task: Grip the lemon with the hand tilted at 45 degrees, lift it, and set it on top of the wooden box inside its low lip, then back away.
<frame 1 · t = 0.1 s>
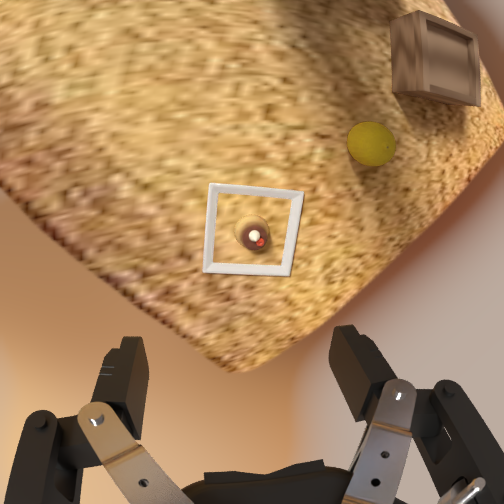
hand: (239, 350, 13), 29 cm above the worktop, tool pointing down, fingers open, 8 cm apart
wooden box: (420, 63, 36), on the worktop
lemon: (355, 140, 39), on the worktop
white square frame: (250, 229, 43), on the worktop
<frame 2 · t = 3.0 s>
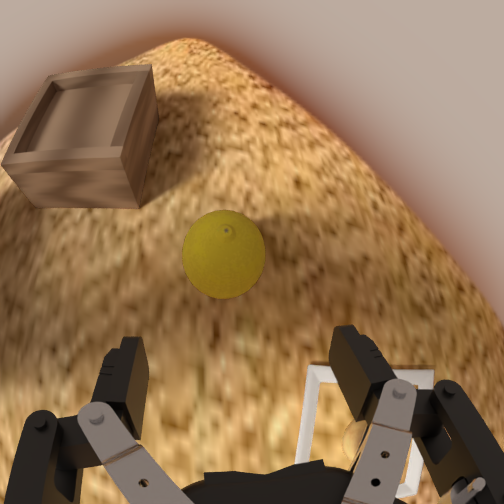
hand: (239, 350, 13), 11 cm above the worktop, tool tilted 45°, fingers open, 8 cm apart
wooden box: (97, 160, 28), on the worktop
lemon: (222, 275, 25), on the worktop
white square frame: (363, 437, 22), on the worktop
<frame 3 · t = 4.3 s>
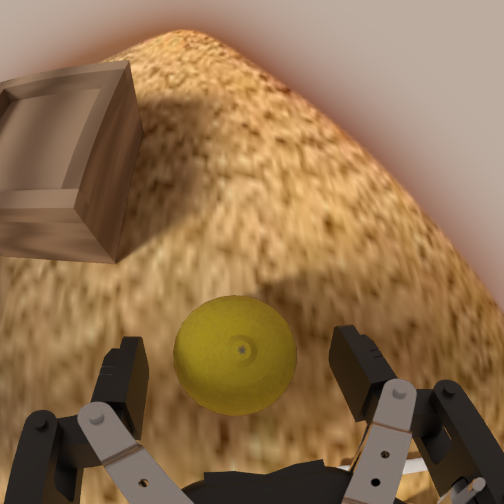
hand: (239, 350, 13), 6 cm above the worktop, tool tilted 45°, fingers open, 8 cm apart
wooden box: (64, 191, 21), on the worktop
lemon: (230, 360, 18), on the worktop
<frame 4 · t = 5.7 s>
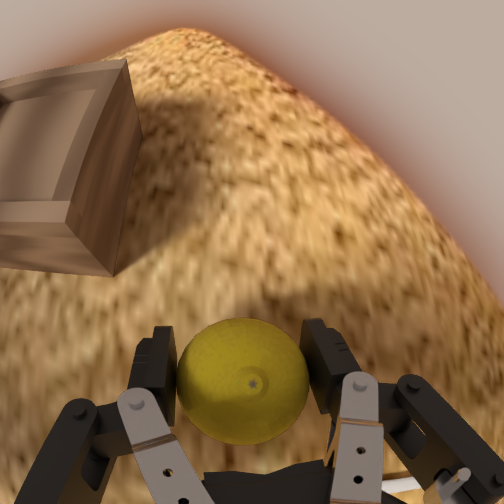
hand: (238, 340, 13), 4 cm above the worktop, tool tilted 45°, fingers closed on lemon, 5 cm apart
wooden box: (59, 198, 20), on the worktop
lemon: (235, 380, 17), on the worktop, touching gripper
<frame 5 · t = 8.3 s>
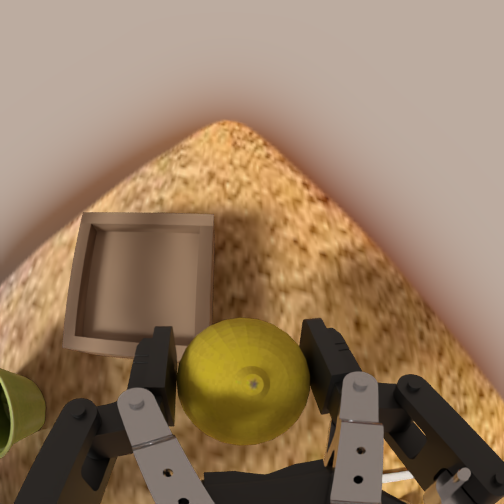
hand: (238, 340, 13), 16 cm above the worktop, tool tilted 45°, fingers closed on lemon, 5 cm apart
wooden box: (155, 302, 29), on the worktop
lemon: (236, 380, 17), point 11 cm above the worktop, touching gripper
plant pot: (25, 404, 24), on the worktop
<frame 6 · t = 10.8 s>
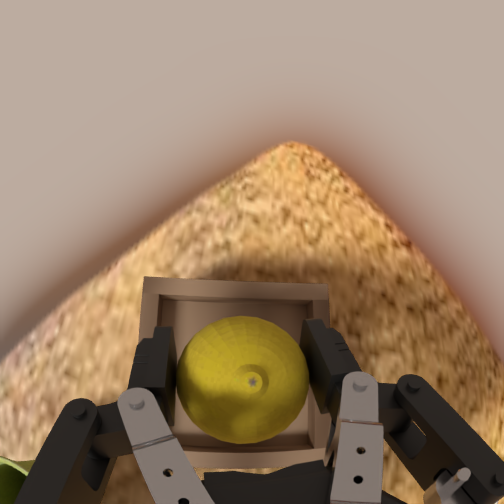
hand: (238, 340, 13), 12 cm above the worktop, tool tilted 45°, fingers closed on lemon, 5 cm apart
wooden box: (229, 375, 24), on the worktop
lemon: (235, 378, 17), point 7 cm above the worktop, touching gripper
plant pot: (67, 487, 18), on the worktop
when the fingers open (12 cm above the worktop, at t = 10.8 s): lemon stays where it is, point 7 cm above the worktop.
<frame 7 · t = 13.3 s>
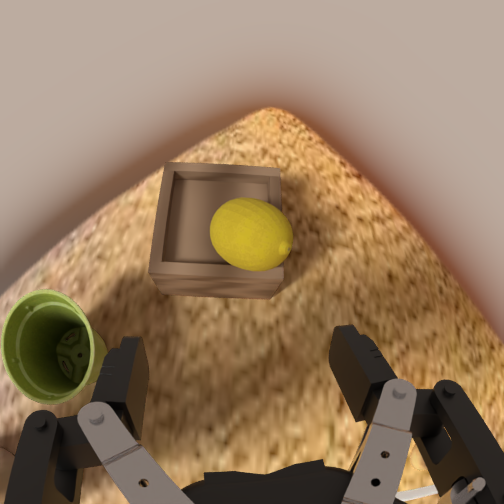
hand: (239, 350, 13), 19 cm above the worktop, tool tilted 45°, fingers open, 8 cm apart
wooden box: (217, 247, 35), on the worktop
lemon: (216, 220, 28), point 7 cm above the worktop
white square frame: (421, 452, 28), on the worktop
plant pot: (83, 355, 29), on the worktop
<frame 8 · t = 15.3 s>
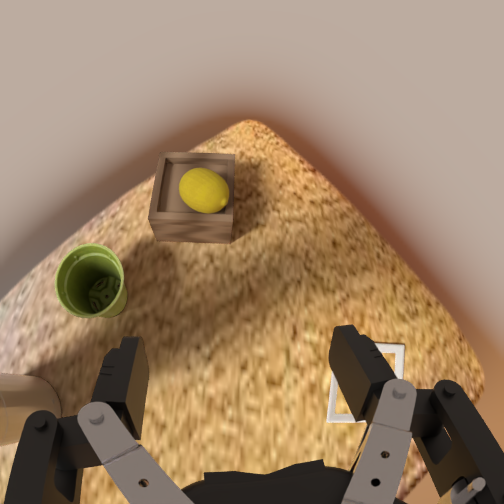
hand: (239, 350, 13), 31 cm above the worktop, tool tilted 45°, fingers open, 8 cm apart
wooden box: (195, 210, 49), on the worktop, touching lemon
lemon: (181, 177, 42), point 8 cm above the worktop, touching wooden box
white square frame: (365, 382, 43), on the worktop
plant pot: (109, 297, 43), on the worktop
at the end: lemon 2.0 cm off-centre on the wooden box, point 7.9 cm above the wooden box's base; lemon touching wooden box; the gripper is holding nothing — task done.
